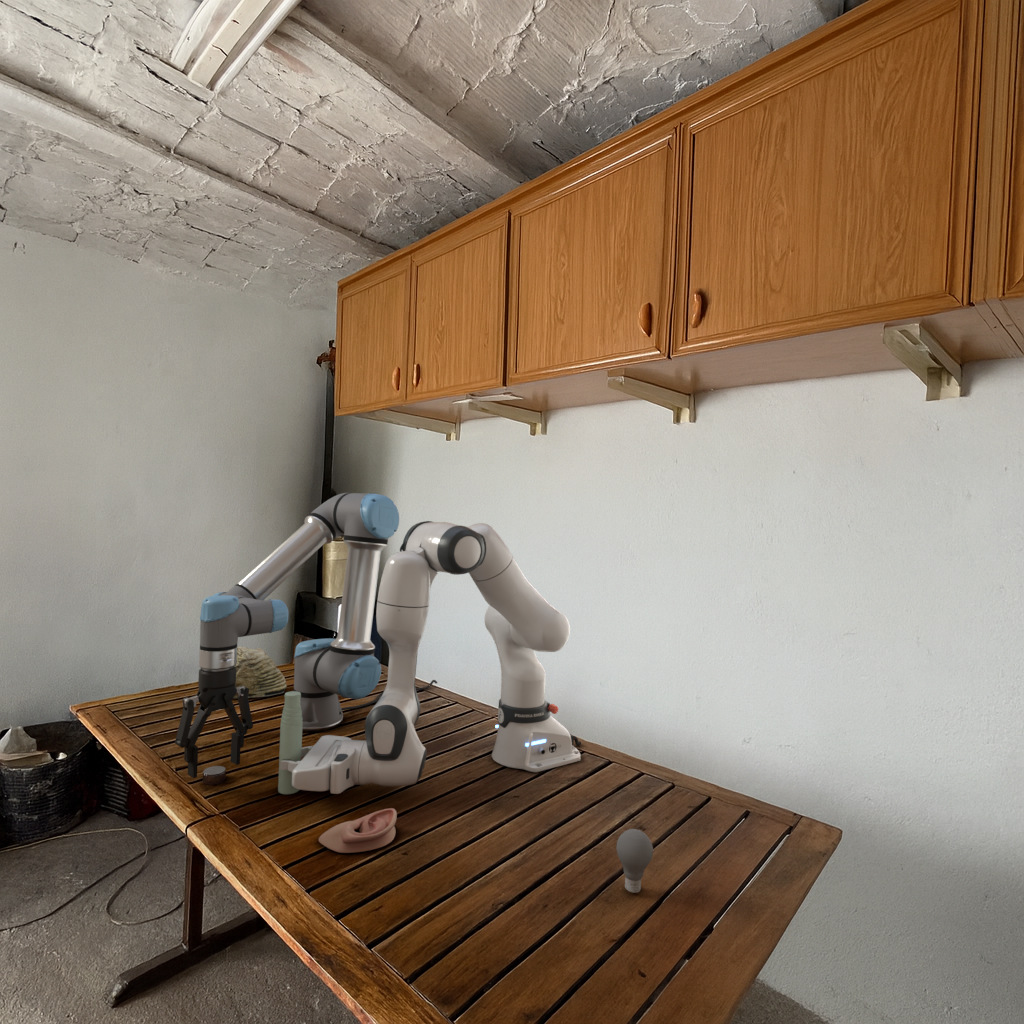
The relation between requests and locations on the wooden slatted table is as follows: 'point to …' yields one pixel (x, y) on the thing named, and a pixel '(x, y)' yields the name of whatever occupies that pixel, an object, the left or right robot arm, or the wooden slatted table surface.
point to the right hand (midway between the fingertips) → (286, 758)
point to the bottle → (290, 739)
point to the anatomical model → (362, 833)
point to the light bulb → (634, 857)
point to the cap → (214, 775)
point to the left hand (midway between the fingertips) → (214, 769)
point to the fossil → (258, 673)
